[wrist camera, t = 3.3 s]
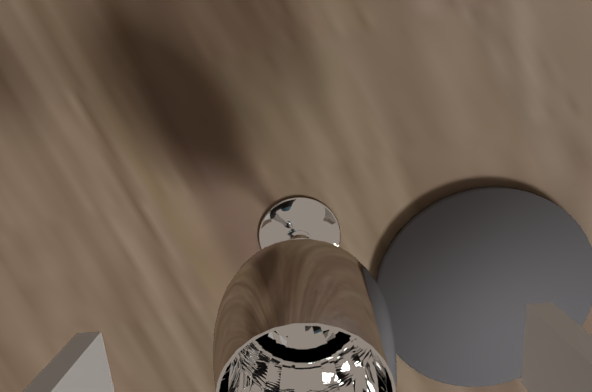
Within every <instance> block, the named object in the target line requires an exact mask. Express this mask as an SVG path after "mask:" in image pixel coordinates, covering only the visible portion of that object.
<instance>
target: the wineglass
mask: <svg viewBox="0 0 592 392" xmlns="http://www.w3.org/2000/svg"><path fill="white" fill-rule="evenodd" d="M340 238H341V234H340V227H339V224H338V221H337V218H336V217H335V215H334V214H333V212H332V211H331V210H330V209H329V208H328V207H327V206H326V205H324V204H322V203H321V202H319V201H317V200H314V199H311V198H306V197H293V198H289V199H285V200H283V201H281V202H279V203H277V204H276V205H274V206H273V207H272V208H271V209H270V210H269V211H268V212H267V213H266V214H265V216H264V217H263V220H262V222H261V225H260V229H259V243H260V247H261V250H260V251H258V252H257V253H255V254H254V255H253V256H252V257H250V258H249V259H248V260H247V261H246V262H245V263H244V264H243V265H242V266H241V267H240V269H239V270H238V272H237V273H236V274H235V276H234V277H233V279H232V280H231V282H230V283H229V285H228V286H227V288H226V291H225V293H224V295H223V297H222V300H221V303H220V306H219V310H218V314H217V318H216V323H215V328H214V341H213V374H214V385H215V392H397V375H396V349H395V338H394V332H393V327H392V322H391V317H390V313H389V310H388V307H387V304H386V301H385V299H384V296H383V294H382V292H381V290H380V288H379V286H378V284H377V282H376V281H375V279H374V278H373V277H372V275H371V274H370V273H369V271H368V270H367V269H366V268H365V267H364V266H363V265H362V264H361V263H360V262H359V261H358V259H357V258H356V257H354V256H353V255H352V254H350V253H349V252H347V251H346V250H344V249H342V248H340V247H339V244H340Z"/></svg>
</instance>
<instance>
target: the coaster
mask: <svg viewBox="0 0 592 392" xmlns="http://www.w3.org/2000/svg"><path fill="white" fill-rule="evenodd" d="M376 282H377V284H378V286H379V288H380V290H381V292H382V294H383V296H384V299H385V301H386V304H387V307H388V310H389V313H390V317H391V322H392V327H393V332H394V338H395V349H396V353H397V354H398V356H399V357H400V358H401V359H402V360H403V361H404V362H405V363H407V364H408V365H409V366H410V367H412V368H413V369H415V370H416V371H418V372H419V373H421V374H423V375H425V376H427V377H429V378H431V379H434V380H437V381H439V382H442V383H447V384H451V385H457V386H467V387H478V386H489V385H496V384H500V383H505V382H509V381H512V380H515V379H517V378H520V377H521V376H522V362H523V348H524V334H525V319H526V305H527V304H537V303H553V304H555V305H556V306H557V307H558V308H559V309H561V310H562V311H563V312H564V313H566V314H567V315H568V316H569V317H570V318H572V319H573V320H574V321H575V322H576V323H578V324H579V325H580V326H581V327H582V325H583V323H584V321H585V319H586V317H587V315H588V313H589V310H590V308H591V305H592V248H591V245H590V243H589V241H588V238H587V236H586V235H585V233H584V232H583V230H582V228H581V227H580V225H579V224H578V223H577V222H576V221H575V220H574V219H573V218H572V216H571V215H569V214H568V213H567V212H566V211H564V210H563V209H562V208H561V207H559V206H558V205H556V204H554V203H553V202H551V201H549V200H547V199H545V198H542V197H540V196H538V195H535V194H533V193H530V192H527V191H523V190H519V189H516V188H508V187H481V188H474V189H469V190H465V191H461V192H458V193H455V194H452V195H450V196H447V197H445V198H442V199H440V200H438V201H437V202H435V203H433V204H431V205H429V206H428V207H426V208H425V209H423V210H422V211H421V212H419V213H418V214H416V215H415V216H414V217H413V218H412V219H411V220H410V221H409V222H408V223H407V224H405V226H404V227H403V228H402V229H401V230H400V231H399V233H398V234H397V235H396V236H395V238H394V239H393V241H392V242H391V244H390V245H389V247H388V249H387V251H386V253H385V255H384V257H383V259H382V262H381V265H380V268H379V271H378V275H377V280H376Z"/></svg>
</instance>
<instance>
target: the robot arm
mask: <svg viewBox="0 0 592 392" xmlns="http://www.w3.org/2000/svg"><path fill="white" fill-rule="evenodd" d="M521 382H522V383H523V385H524V386H525V387H526V389H527V390H528V391H529V392H592V335H591V334H590V333H589V332H587V331H586V330H585V329H584V328H583V327H581V326H580V325H579V324H578V323H576V322H575V321H574V320H573V319H572V318H570V317H569V316H568V315H567V314H566V313H564V312H563V311H562V310H561V309H559V308H558V307H557V306H556V305H555V304H553V303H537V304H527V305H526V319H525V334H524V348H523V362H522V376H521ZM23 392H114V387H113V383H112V378H111V374H110V369H109V365H108V360H107V356H106V351H105V347H104V342H103V338H102V333H101V332H86V333H77V334H76V335H75V336H74V337H73V338H72V339H71V340H70V341H69V342H68V343H67V344H66V346H65V347H64V348H63V349H62V350H61V351H60V352H59V353H58V354H57V355H56V356H55V357H54V358H53V359H52V361H51V362H50V363H49V364H48V365H47V366H46V367H45V368H44V369H43V370H42V371H41V372H40V373H39V374H38V376H37V377H36V378H35V379H34V380H33V381H32V382H31V383H30V384H29V385H28V386H27V387H26V388H25V389H24V391H23Z"/></svg>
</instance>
